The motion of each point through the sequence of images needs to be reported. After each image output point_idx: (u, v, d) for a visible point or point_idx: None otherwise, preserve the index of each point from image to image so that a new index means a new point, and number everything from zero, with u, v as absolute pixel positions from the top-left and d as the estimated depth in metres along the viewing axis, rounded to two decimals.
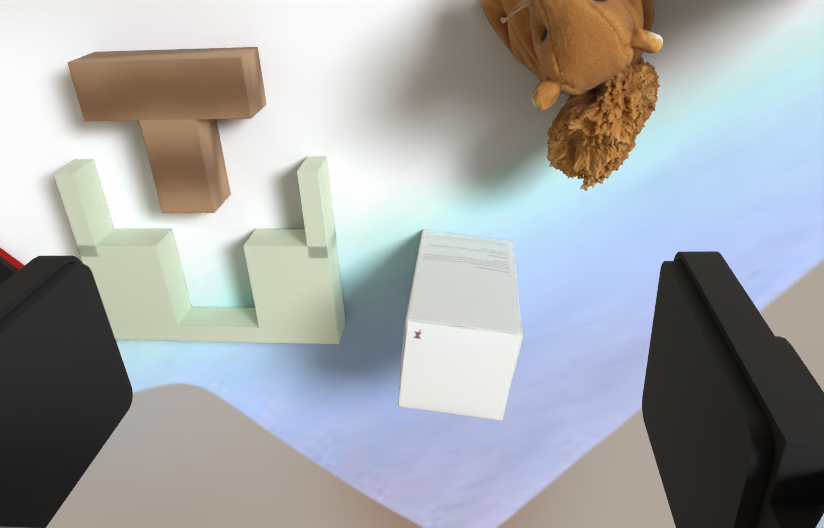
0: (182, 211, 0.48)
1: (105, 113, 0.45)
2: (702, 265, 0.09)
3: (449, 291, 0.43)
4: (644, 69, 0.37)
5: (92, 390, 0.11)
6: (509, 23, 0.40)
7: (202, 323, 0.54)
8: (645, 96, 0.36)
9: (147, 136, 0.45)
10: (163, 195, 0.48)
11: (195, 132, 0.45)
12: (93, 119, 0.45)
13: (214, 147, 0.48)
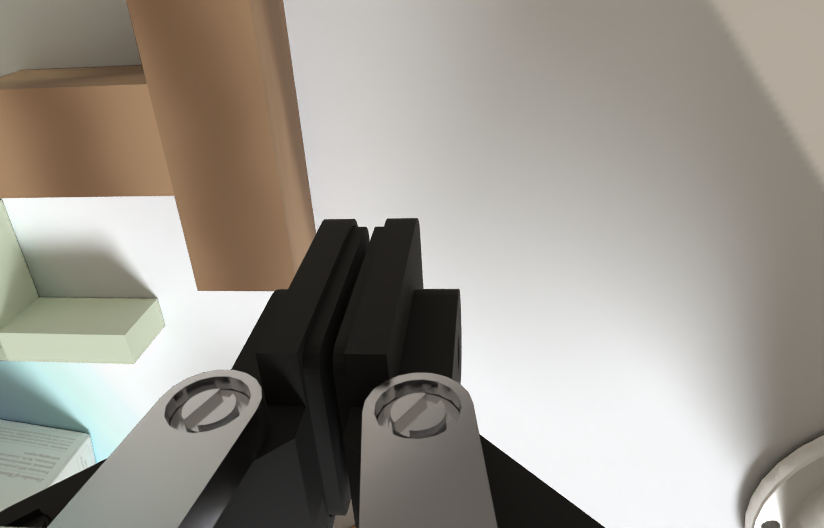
0: None
1: (144, 9, 0.21)
2: (394, 228, 0.10)
3: None
4: None
5: None
6: None
7: None
8: None
9: (116, 93, 0.22)
10: None
11: (150, 193, 0.24)
12: None
13: None
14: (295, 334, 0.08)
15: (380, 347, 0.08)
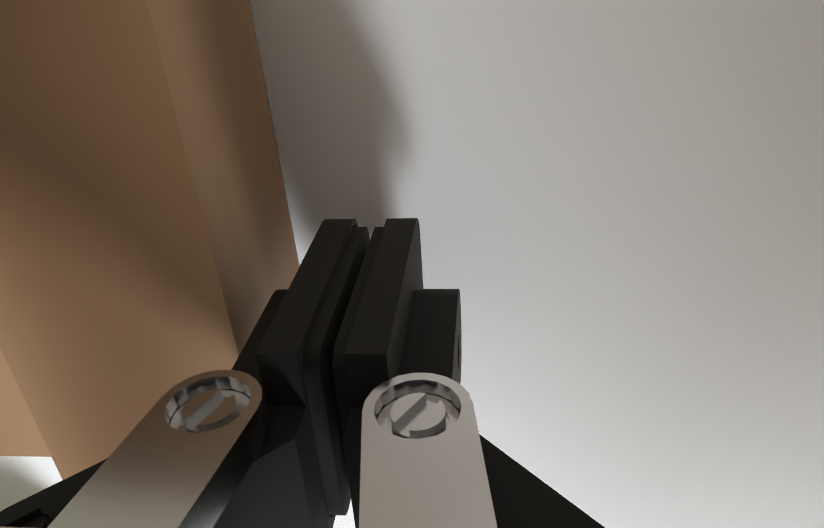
0: None
1: None
2: (394, 228, 0.10)
3: None
4: None
5: None
6: None
7: None
8: None
9: None
10: None
11: (4, 451, 0.12)
12: None
13: None
14: (295, 334, 0.08)
15: (379, 346, 0.08)
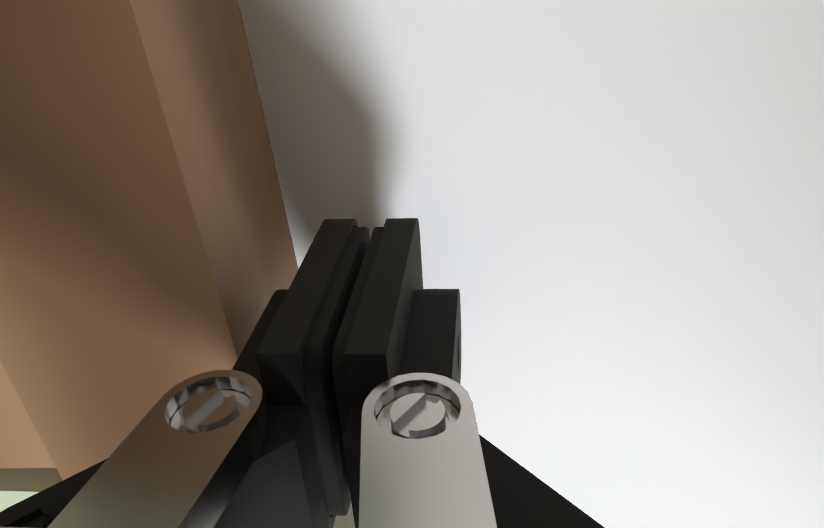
0: None
1: None
2: (394, 228, 0.10)
3: None
4: None
5: None
6: None
7: None
8: None
9: None
10: None
11: (8, 464, 0.12)
12: None
13: None
14: (296, 334, 0.08)
15: (379, 346, 0.08)
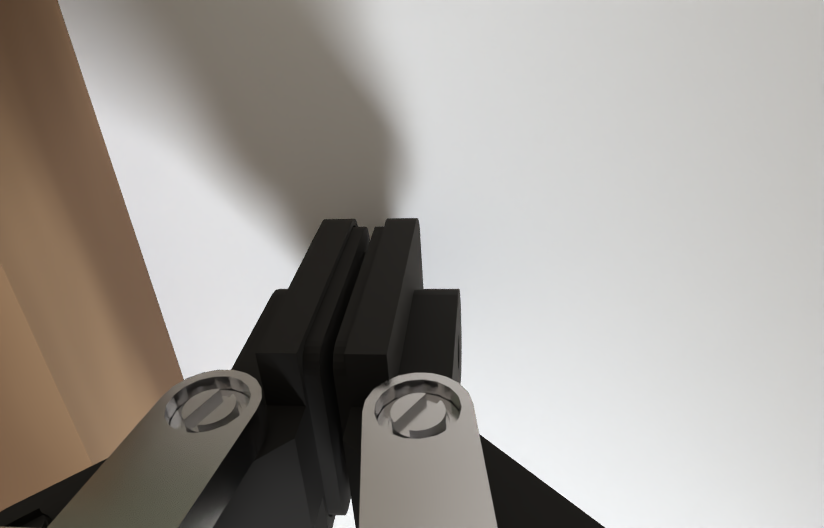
0: None
1: None
2: (394, 228, 0.10)
3: None
4: None
5: None
6: None
7: None
8: None
9: None
10: None
11: None
12: None
13: None
14: (295, 334, 0.08)
15: (380, 346, 0.08)
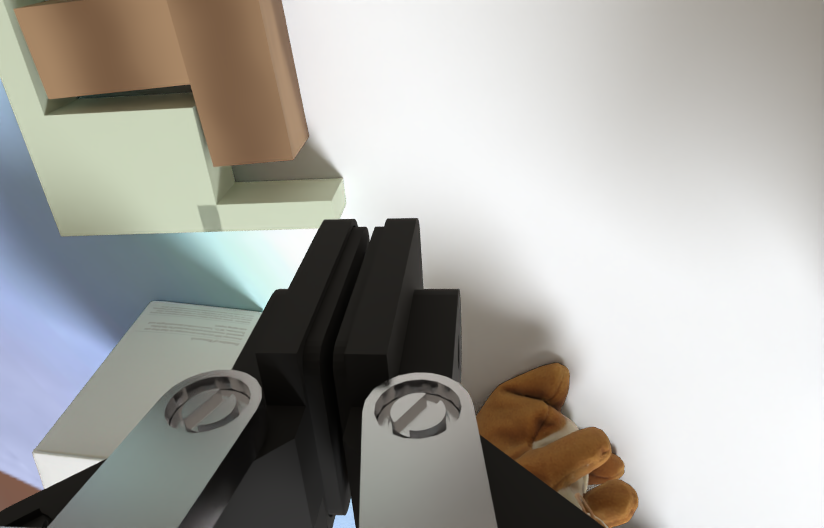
0: (29, 45, 0.29)
1: None
2: (394, 228, 0.10)
3: None
4: None
5: None
6: (540, 409, 0.38)
7: (9, 4, 0.29)
8: None
9: (139, 0, 0.28)
10: (45, 14, 0.29)
11: (170, 84, 0.30)
12: None
13: None
14: (295, 334, 0.08)
15: (380, 347, 0.08)
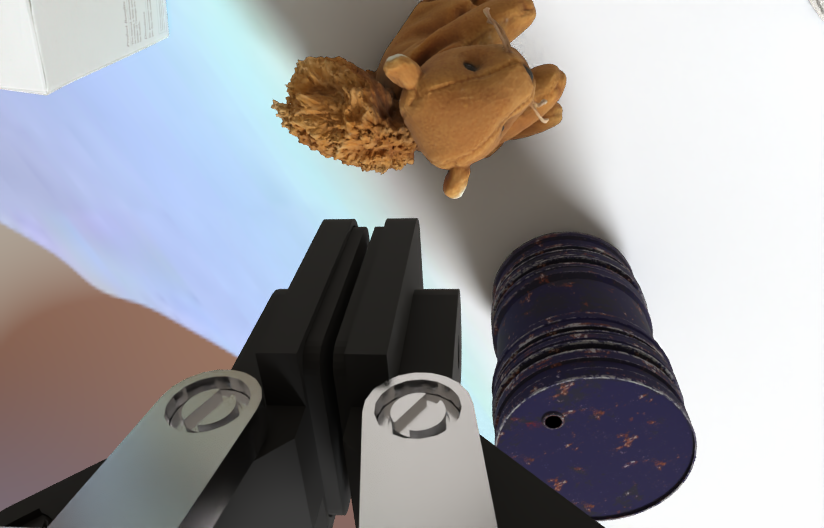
0: None
1: None
2: (394, 228, 0.10)
3: None
4: (409, 162, 0.34)
5: None
6: (462, 1, 0.34)
7: None
8: (384, 169, 0.33)
9: None
10: None
11: None
12: None
13: None
14: (295, 334, 0.08)
15: (380, 346, 0.08)
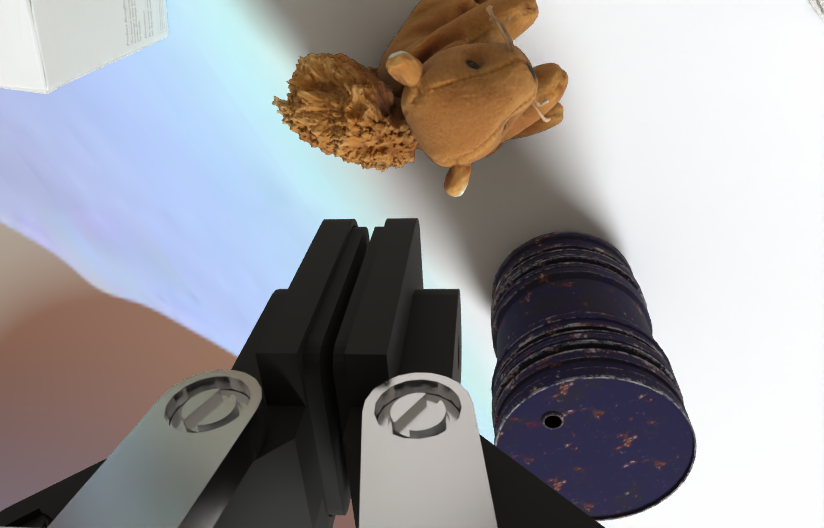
0: None
1: None
2: (394, 228, 0.10)
3: None
4: (410, 160, 0.34)
5: None
6: None
7: None
8: (385, 167, 0.33)
9: None
10: None
11: None
12: None
13: None
14: (295, 334, 0.08)
15: (380, 347, 0.08)
